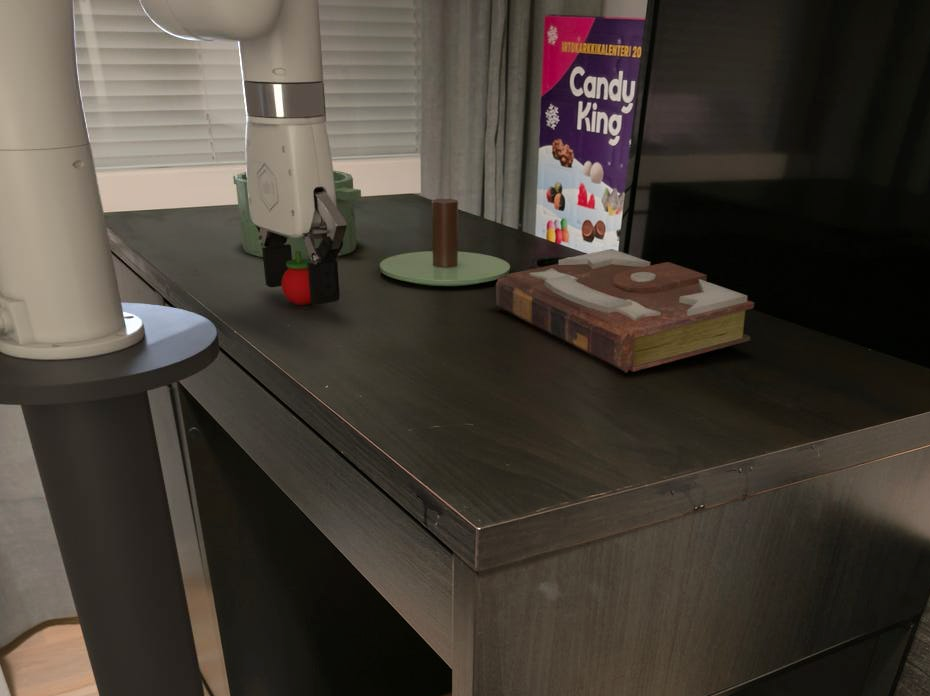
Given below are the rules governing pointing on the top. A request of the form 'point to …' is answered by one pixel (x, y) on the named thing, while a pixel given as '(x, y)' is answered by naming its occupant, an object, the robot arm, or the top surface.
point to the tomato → (297, 281)
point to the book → (626, 308)
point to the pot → (252, 245)
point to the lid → (444, 256)
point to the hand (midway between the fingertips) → (302, 293)
